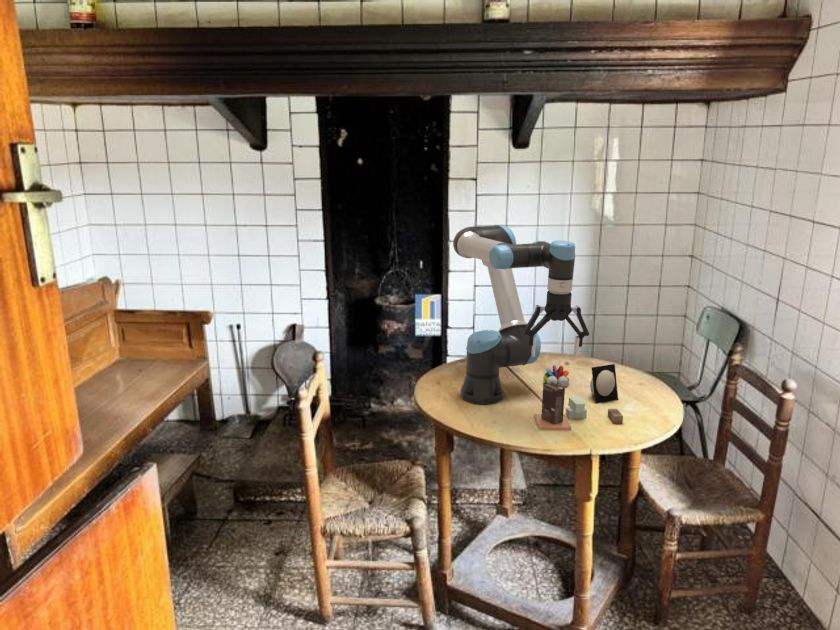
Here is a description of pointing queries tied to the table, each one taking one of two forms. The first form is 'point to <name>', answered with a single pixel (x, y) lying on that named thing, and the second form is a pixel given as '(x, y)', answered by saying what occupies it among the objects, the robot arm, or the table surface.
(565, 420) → the tile
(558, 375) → the rainbow disc rolling toy
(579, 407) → the pale green brick
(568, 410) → the grey brick
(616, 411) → the walnut brick
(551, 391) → the box
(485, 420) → the table surface
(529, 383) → the table surface
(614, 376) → the decorative object
